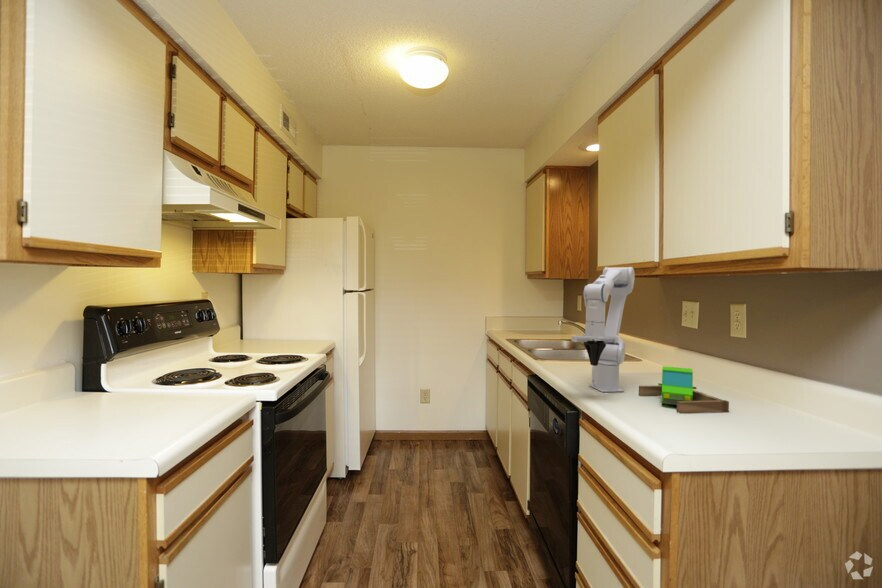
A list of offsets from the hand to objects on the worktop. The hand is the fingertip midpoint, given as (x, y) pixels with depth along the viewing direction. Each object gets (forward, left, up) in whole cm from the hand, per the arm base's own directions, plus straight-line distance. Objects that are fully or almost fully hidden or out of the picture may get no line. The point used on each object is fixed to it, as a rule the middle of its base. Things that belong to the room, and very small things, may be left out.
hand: (593, 365), depth 136 cm
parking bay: (+8, +24, -10) cm, 28 cm away
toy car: (+8, +23, -11) cm, 26 cm away
